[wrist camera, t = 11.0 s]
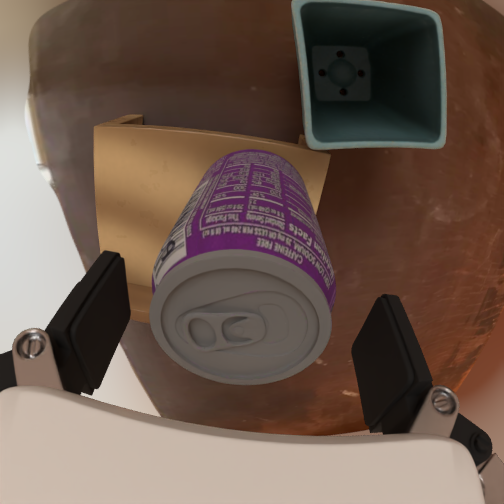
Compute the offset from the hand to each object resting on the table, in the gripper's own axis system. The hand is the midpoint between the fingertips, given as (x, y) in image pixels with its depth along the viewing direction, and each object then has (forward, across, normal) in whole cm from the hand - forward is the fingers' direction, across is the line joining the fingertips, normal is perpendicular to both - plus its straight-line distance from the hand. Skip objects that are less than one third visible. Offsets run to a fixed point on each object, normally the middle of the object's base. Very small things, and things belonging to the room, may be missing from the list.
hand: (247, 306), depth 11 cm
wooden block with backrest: (+17, +4, +4) cm, 18 cm away
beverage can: (+11, 0, 0) cm, 11 cm away
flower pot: (+17, -5, -9) cm, 20 cm away
